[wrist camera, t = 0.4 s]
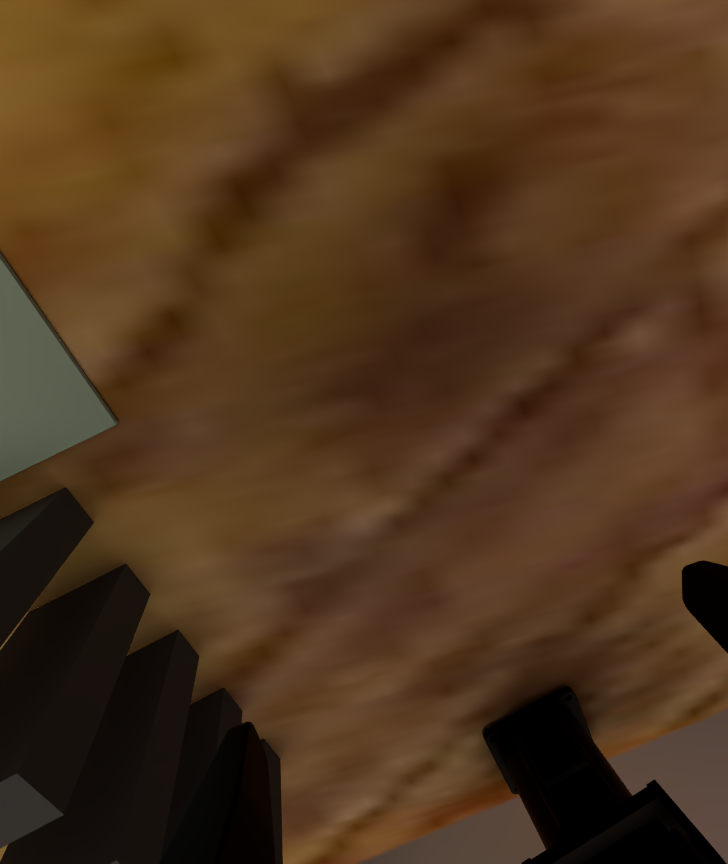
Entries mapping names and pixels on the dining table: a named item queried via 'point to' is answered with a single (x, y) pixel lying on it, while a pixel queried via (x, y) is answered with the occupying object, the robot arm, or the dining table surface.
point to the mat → (39, 385)
